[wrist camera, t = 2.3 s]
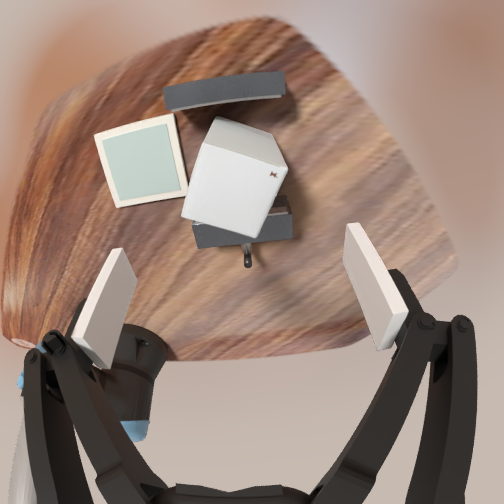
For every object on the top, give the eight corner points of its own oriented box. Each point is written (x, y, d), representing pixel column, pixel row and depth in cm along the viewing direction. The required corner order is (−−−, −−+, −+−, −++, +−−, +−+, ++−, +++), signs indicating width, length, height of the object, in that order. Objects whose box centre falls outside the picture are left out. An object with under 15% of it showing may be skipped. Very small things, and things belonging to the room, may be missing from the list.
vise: (207, 250, 41) (204, 272, 37) (173, 85, 27) (162, 87, 23) (287, 241, 41) (293, 263, 37) (277, 71, 27) (284, 71, 23)
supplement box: (215, 113, 30) (202, 138, 19) (274, 134, 31) (292, 169, 21) (196, 167, 34) (178, 218, 24) (251, 185, 35) (257, 241, 25)
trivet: (117, 205, 36) (116, 208, 35) (95, 133, 29) (93, 135, 29) (190, 193, 36) (189, 195, 35) (173, 113, 29) (172, 113, 28)
